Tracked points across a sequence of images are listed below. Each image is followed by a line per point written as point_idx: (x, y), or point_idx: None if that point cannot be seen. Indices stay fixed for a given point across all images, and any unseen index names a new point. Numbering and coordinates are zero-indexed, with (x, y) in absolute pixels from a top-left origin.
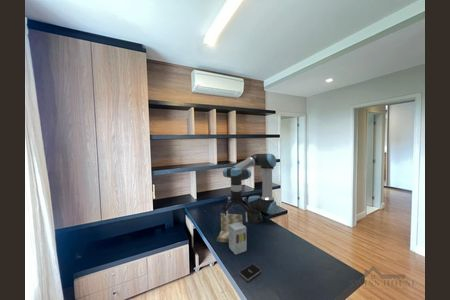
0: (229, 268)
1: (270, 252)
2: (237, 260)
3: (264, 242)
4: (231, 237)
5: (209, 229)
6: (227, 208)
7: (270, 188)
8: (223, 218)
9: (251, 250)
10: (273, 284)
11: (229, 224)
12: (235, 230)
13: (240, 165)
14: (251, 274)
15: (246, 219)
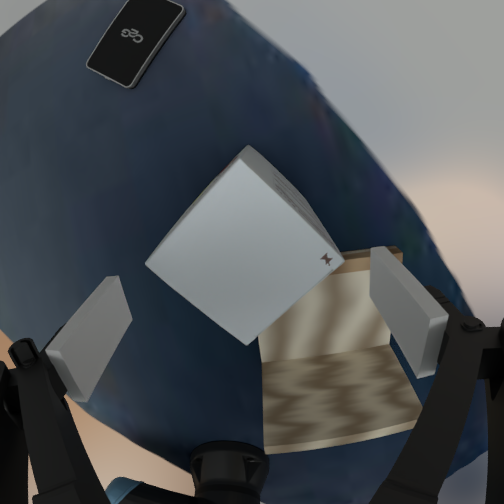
0: (249, 31)
1: (75, 231)
2: (222, 101)
3: None
4: (289, 188)
5: None
6: (454, 362)
7: None
8: (399, 400)
9: (165, 216)
10: (48, 36)
11: (337, 266)
12: (236, 160)
13: None
14: (124, 19)
15: (98, 291)
